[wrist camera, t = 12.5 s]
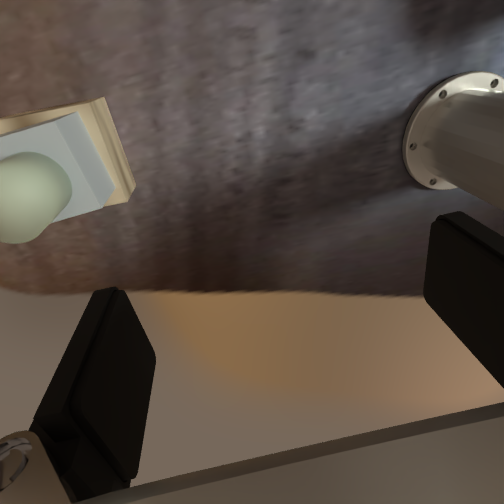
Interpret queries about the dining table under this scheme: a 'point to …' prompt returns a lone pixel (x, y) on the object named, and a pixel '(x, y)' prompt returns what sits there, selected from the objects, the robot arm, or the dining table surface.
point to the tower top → (66, 159)
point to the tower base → (100, 133)
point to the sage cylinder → (30, 195)
